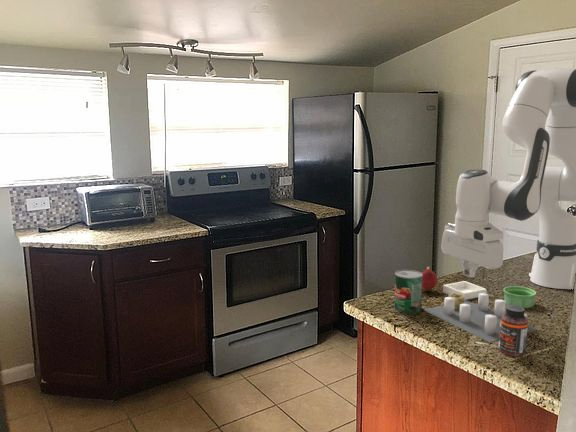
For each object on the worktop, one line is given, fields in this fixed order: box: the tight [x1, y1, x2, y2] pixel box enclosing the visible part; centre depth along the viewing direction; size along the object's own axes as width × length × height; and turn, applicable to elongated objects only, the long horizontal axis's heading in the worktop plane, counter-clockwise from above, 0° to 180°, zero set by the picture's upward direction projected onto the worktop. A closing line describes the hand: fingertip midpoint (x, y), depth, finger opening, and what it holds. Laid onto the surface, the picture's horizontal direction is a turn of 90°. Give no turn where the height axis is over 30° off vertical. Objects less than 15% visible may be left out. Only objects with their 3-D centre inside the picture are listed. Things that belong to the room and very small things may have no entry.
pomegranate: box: [421, 266, 438, 292], centre depth 167 cm, size 6×6×8 cm
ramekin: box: [502, 285, 537, 309], centre depth 155 cm, size 9×9×4 cm
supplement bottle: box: [498, 305, 529, 358], centre depth 123 cm, size 6×6×11 cm
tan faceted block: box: [447, 293, 465, 310], centre depth 152 cm, size 5×4×4 cm
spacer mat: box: [422, 292, 538, 343], centre depth 143 cm, size 17×25×5 cm
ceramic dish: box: [442, 280, 487, 301], centre depth 164 cm, size 9×9×2 cm
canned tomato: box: [393, 269, 423, 314], centre depth 152 cm, size 8×8×11 cm
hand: (468, 275), depth 147 cm, fingers closed
